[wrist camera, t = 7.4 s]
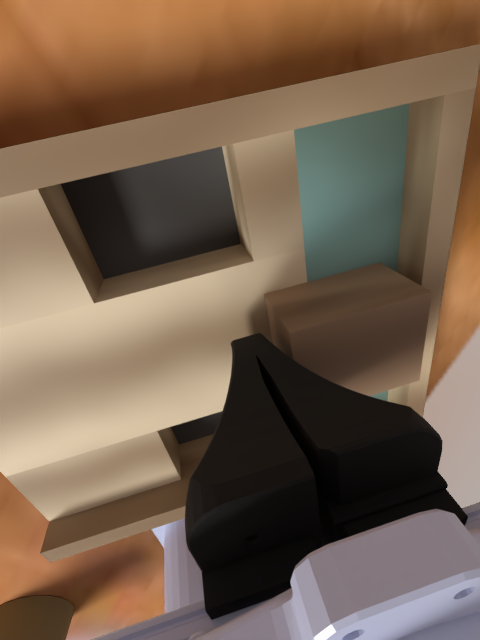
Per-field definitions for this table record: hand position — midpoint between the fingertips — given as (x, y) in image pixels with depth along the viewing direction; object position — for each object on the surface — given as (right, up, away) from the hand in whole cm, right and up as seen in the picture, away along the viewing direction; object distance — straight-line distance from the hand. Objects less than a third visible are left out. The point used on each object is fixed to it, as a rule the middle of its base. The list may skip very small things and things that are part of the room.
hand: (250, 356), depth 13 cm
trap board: (-3, +1, +3) cm, 4 cm away
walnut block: (+3, +2, +1) cm, 4 cm away
